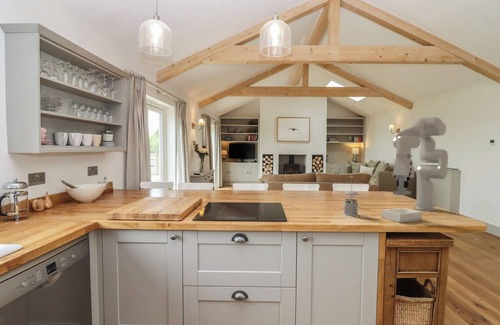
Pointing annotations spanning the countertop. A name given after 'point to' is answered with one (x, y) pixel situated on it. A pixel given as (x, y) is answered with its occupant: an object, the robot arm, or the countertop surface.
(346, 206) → the french press
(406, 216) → the grey shallow tray
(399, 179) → the steel bracket
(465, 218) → the countertop surface
